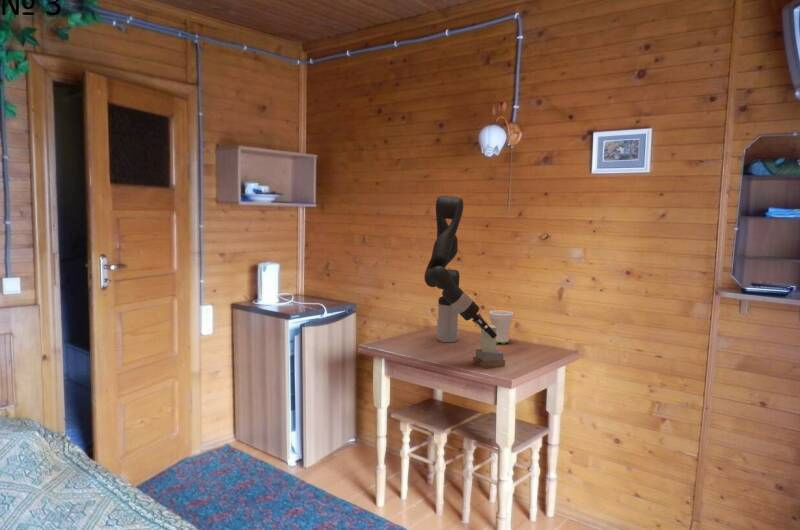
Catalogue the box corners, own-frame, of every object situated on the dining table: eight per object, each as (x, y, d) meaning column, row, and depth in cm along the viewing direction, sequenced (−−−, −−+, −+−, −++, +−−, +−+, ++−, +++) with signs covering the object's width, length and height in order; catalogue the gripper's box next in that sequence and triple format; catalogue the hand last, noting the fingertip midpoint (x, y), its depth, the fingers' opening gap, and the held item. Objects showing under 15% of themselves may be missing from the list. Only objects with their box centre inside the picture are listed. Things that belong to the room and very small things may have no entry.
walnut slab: (472, 364, 233) (473, 357, 232) (490, 361, 237) (491, 354, 237) (486, 370, 225) (486, 362, 224) (504, 367, 229) (505, 359, 229)
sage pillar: (480, 349, 233) (481, 324, 232) (492, 349, 233) (493, 325, 232) (482, 352, 228) (483, 327, 227) (495, 352, 228) (496, 327, 227)
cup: (494, 346, 260) (495, 315, 259) (484, 340, 271) (485, 310, 270) (516, 345, 263) (517, 314, 262) (505, 339, 274) (507, 309, 273)
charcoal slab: (475, 356, 233) (475, 349, 232) (492, 355, 235) (493, 348, 235) (485, 362, 225) (485, 354, 225) (503, 360, 228) (503, 352, 228)
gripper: (475, 302, 220) (504, 332, 223) (468, 296, 235) (494, 324, 237) (461, 316, 221) (490, 345, 223) (454, 309, 235) (481, 336, 237)
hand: (492, 334), depth 230 cm, fingers open, 8 cm apart
